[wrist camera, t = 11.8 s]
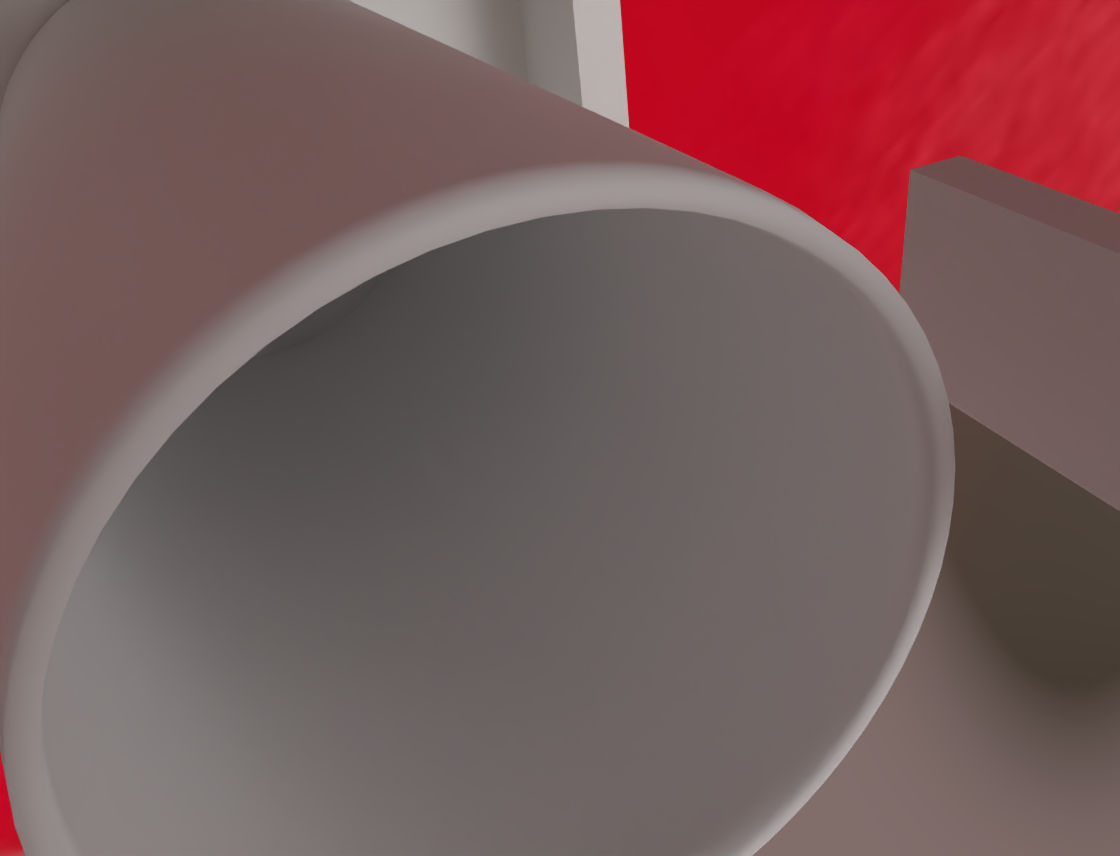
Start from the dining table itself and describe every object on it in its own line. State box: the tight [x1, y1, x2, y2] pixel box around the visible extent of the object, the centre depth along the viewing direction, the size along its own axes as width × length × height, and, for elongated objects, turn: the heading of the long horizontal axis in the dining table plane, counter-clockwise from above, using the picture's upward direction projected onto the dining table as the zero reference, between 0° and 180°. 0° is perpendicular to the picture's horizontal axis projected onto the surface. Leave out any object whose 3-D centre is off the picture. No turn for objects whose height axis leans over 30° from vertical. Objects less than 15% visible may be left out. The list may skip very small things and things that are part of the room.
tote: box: [0, 0, 629, 128], centre depth 19 cm, size 20×16×4 cm
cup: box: [0, 0, 955, 856], centre depth 15 cm, size 8×8×16 cm
